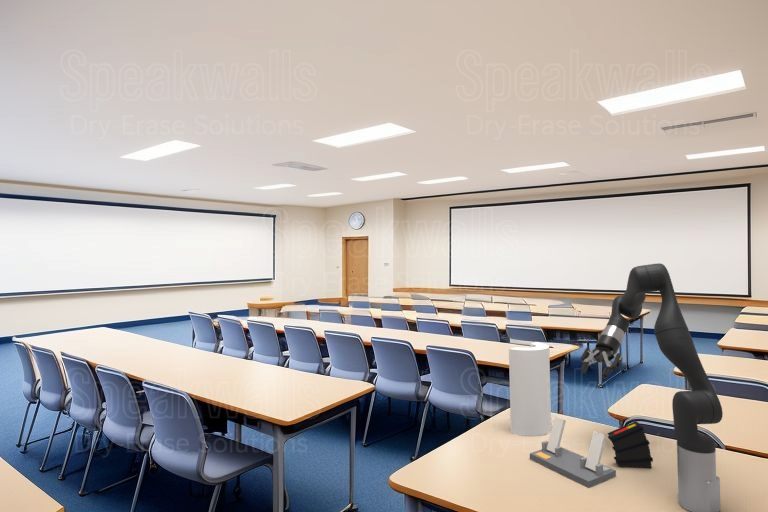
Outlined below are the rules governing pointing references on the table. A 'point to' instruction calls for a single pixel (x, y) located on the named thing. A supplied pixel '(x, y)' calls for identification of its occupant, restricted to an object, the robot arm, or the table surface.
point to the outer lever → (556, 434)
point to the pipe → (530, 390)
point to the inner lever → (595, 450)
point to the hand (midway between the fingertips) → (593, 374)
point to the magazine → (631, 446)
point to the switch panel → (572, 465)
